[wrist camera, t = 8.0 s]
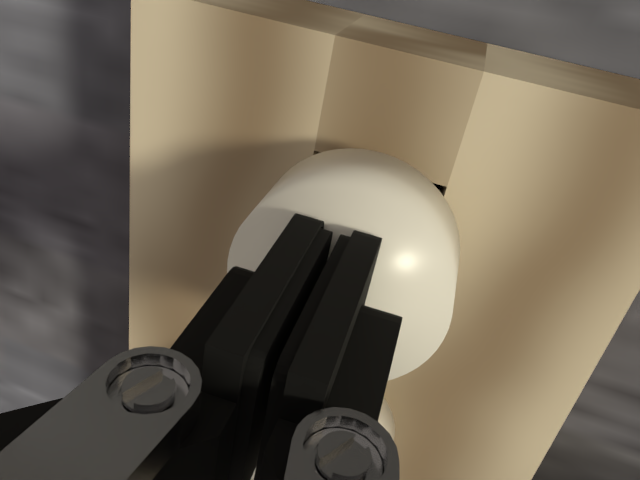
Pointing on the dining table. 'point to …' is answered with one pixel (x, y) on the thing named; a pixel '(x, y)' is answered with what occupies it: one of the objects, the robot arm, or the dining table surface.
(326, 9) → the board
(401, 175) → the off-white oval piece
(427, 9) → the dining table surface
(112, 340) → the dining table surface
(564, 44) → the dining table surface
